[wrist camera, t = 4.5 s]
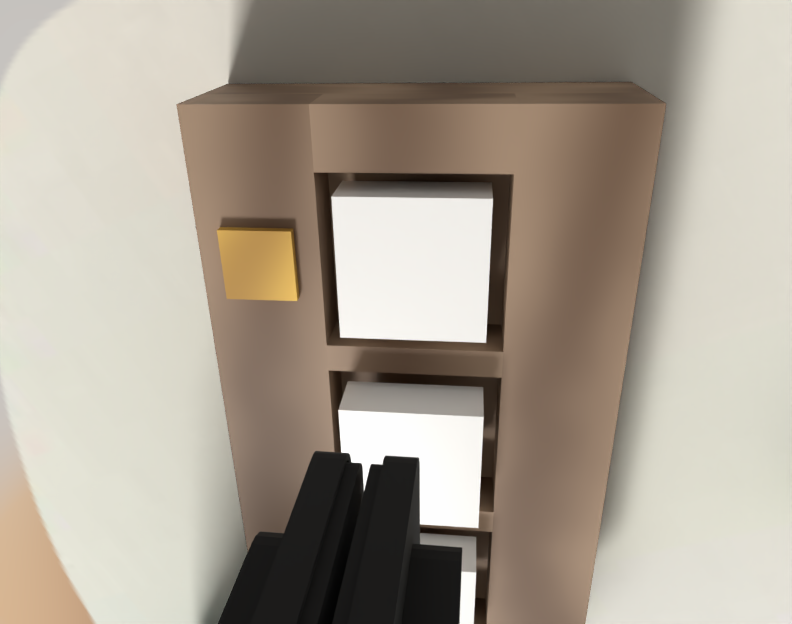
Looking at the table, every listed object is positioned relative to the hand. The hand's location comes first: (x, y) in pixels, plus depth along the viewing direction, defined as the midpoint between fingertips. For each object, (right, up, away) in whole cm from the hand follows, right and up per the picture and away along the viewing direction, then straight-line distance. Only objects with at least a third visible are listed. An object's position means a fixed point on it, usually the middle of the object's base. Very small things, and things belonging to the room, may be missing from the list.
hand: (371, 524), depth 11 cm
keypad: (+2, +1, +17) cm, 18 cm away
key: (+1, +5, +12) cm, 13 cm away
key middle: (+1, -1, +14) cm, 14 cm away
